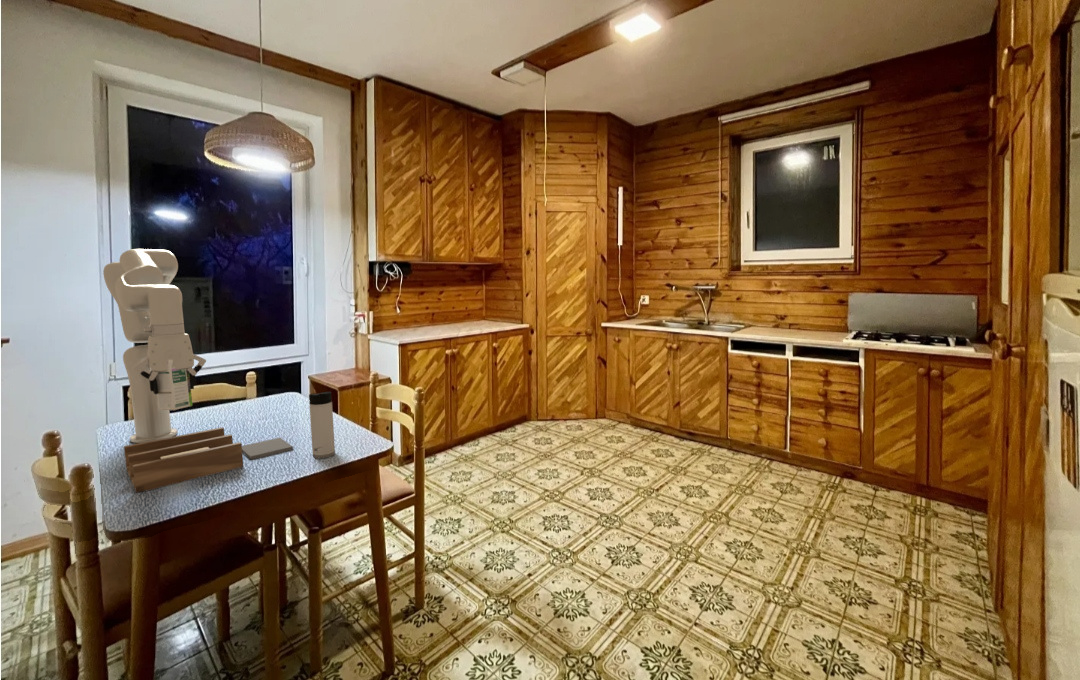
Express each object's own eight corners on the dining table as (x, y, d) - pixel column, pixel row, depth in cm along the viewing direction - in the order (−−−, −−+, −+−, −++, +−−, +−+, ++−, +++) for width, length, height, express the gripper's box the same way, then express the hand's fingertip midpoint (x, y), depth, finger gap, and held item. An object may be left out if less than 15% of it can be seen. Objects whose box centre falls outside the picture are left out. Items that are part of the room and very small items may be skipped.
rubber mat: (239, 449, 154) (238, 446, 154) (280, 440, 163) (279, 437, 162) (250, 459, 146) (250, 456, 146) (292, 449, 154) (292, 446, 154)
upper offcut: (161, 467, 133) (160, 456, 133) (208, 456, 141) (207, 446, 141) (165, 473, 129) (163, 462, 129) (213, 461, 137) (212, 451, 137)
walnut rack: (126, 469, 138) (123, 446, 137) (224, 448, 155) (222, 427, 154) (136, 493, 124) (133, 466, 123) (243, 466, 140) (241, 443, 140)
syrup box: (174, 410, 137) (169, 359, 136) (157, 410, 138) (153, 359, 137) (192, 406, 142) (188, 356, 141) (176, 405, 144) (172, 356, 143)
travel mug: (315, 460, 145) (311, 395, 142) (310, 454, 150) (306, 390, 147) (337, 456, 149) (333, 392, 146) (332, 449, 154) (328, 388, 151)
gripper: (129, 334, 129) (136, 398, 131) (207, 329, 141) (212, 388, 144) (126, 331, 134) (133, 393, 137) (201, 326, 146) (206, 383, 149)
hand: (174, 390), depth 140 cm, fingers closed on syrup box, 7 cm apart
